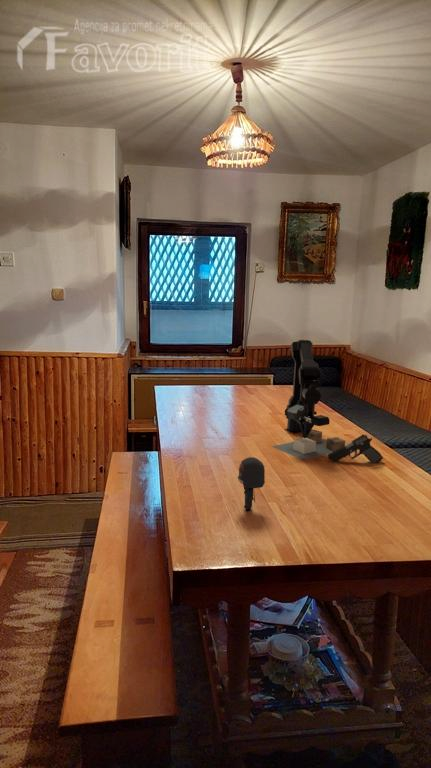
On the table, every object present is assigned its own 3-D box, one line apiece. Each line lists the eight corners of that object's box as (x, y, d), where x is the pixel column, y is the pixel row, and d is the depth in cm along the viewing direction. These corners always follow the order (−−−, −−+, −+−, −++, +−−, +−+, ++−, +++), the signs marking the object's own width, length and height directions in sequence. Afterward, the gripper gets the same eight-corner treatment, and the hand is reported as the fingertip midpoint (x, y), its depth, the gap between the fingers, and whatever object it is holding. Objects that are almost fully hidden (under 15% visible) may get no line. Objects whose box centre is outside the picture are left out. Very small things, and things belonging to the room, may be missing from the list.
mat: (271, 447, 196) (271, 446, 196) (317, 437, 210) (317, 437, 210) (303, 461, 181) (303, 460, 181) (351, 449, 196) (351, 448, 196)
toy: (234, 502, 145) (236, 452, 142) (260, 501, 146) (263, 453, 143) (238, 516, 136) (240, 464, 133) (266, 516, 137) (269, 464, 134)
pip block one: (304, 440, 205) (305, 430, 204) (311, 438, 208) (312, 428, 207) (314, 443, 201) (315, 433, 200) (321, 441, 205) (322, 431, 204)
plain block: (292, 449, 193) (293, 439, 192) (304, 447, 196) (304, 437, 196) (303, 453, 188) (304, 443, 187) (315, 451, 191) (315, 441, 191)
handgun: (382, 457, 182) (367, 430, 180) (384, 459, 181) (368, 432, 178) (342, 480, 184) (326, 454, 182) (343, 482, 182) (327, 456, 180)
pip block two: (326, 448, 196) (326, 437, 195) (335, 446, 198) (336, 436, 197) (334, 451, 192) (335, 441, 191) (344, 450, 194) (345, 440, 193)
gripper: (275, 395, 191) (272, 434, 194) (310, 405, 176) (307, 447, 179) (296, 392, 198) (293, 430, 201) (332, 402, 183) (328, 443, 186)
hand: (304, 437), depth 191 cm, fingers closed
